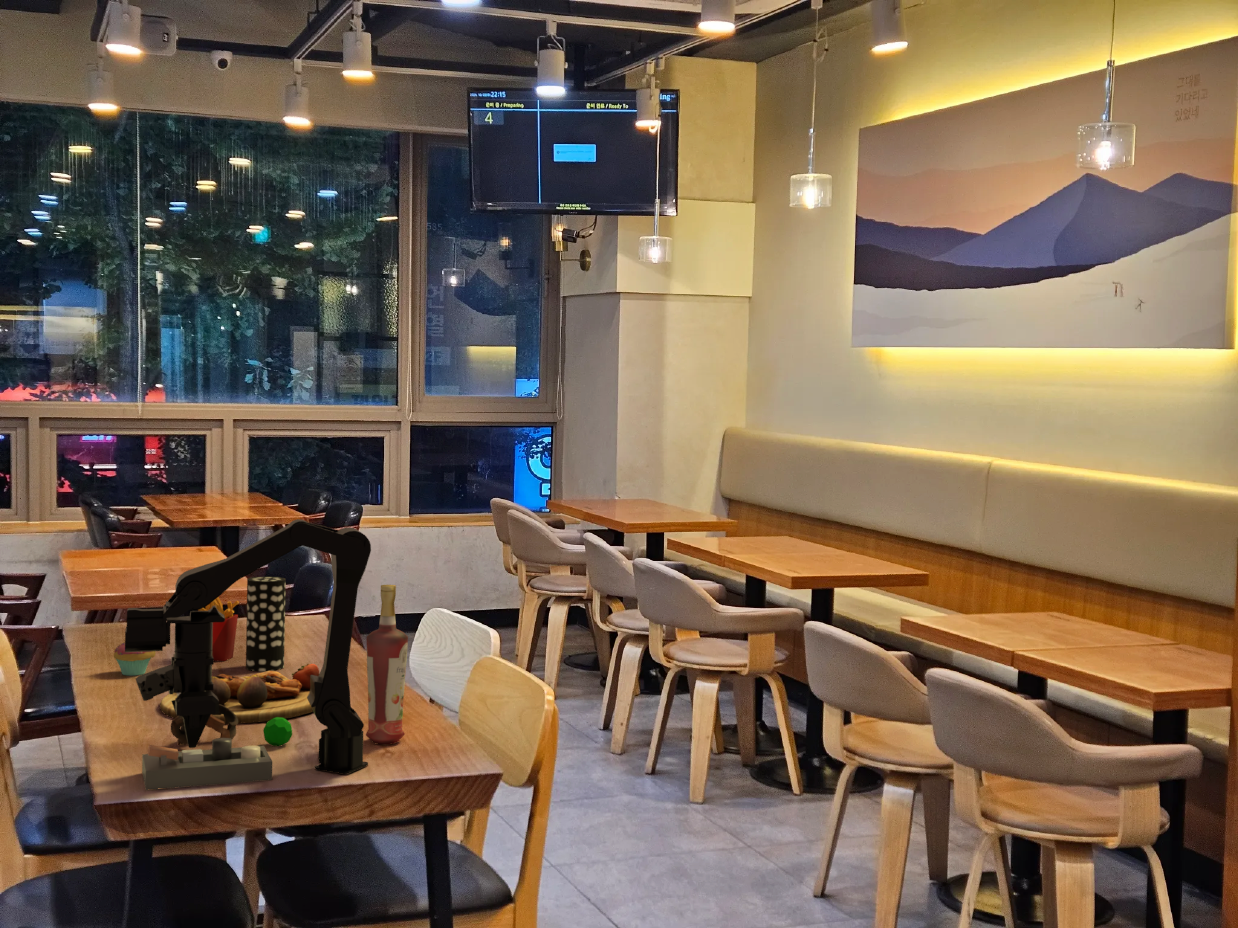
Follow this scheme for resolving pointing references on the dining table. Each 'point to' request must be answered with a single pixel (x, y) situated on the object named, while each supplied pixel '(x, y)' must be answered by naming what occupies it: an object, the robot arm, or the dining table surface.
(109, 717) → the dining table surface
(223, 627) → the french fries
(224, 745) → the black round button
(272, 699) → the wooden plate with food
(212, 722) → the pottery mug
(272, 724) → the polyhedron
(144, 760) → the panel
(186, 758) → the grey square button
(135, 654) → the cupcake
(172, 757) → the terracotta rocker
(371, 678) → the liquor
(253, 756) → the white cylinder
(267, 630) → the spotted tube
